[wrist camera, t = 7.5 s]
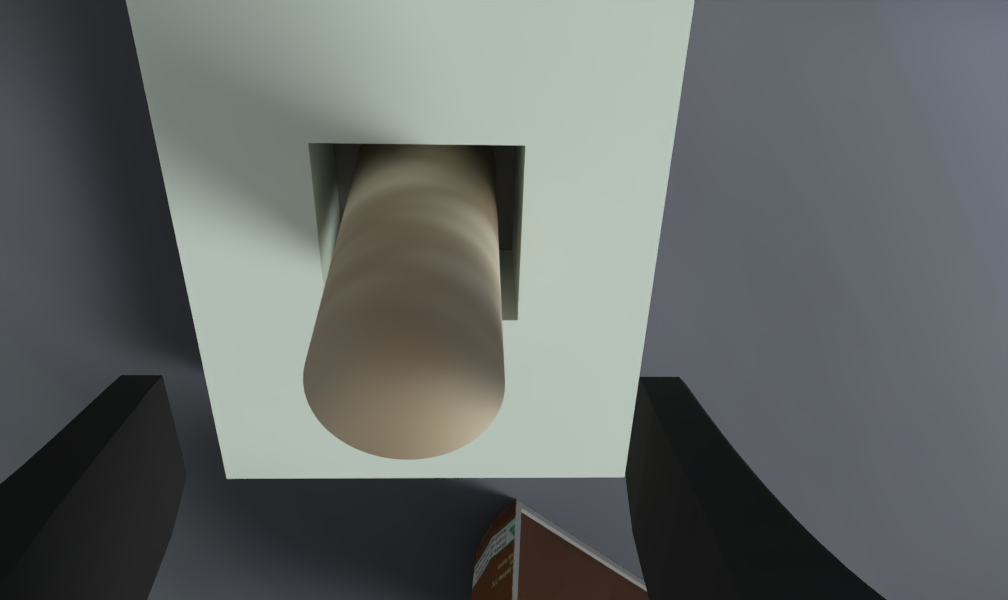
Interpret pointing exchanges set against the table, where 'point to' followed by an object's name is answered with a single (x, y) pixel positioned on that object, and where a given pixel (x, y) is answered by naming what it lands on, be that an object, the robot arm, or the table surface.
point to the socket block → (418, 120)
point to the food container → (545, 563)
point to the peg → (412, 305)
